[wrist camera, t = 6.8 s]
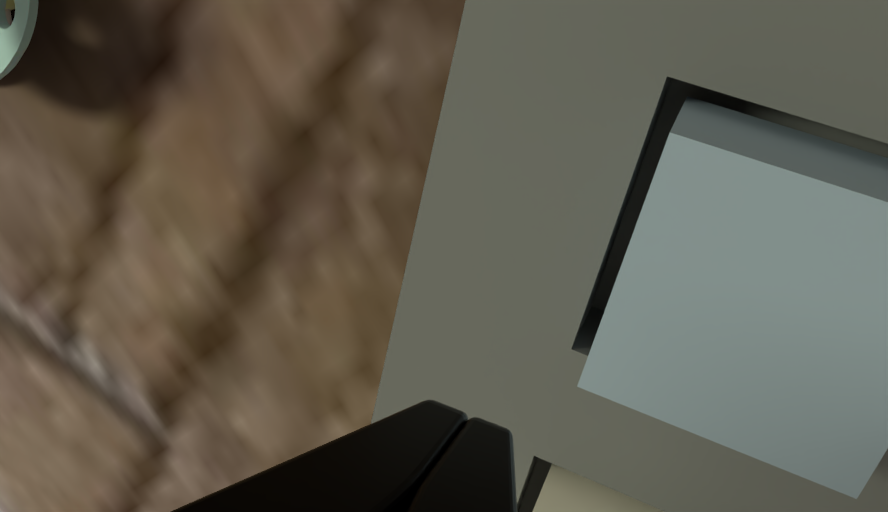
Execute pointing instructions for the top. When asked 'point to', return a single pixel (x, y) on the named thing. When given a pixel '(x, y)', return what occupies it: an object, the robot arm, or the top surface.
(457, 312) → the keypad
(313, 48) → the top surface
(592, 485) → the cream key
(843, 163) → the slate key
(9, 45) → the pacifier
